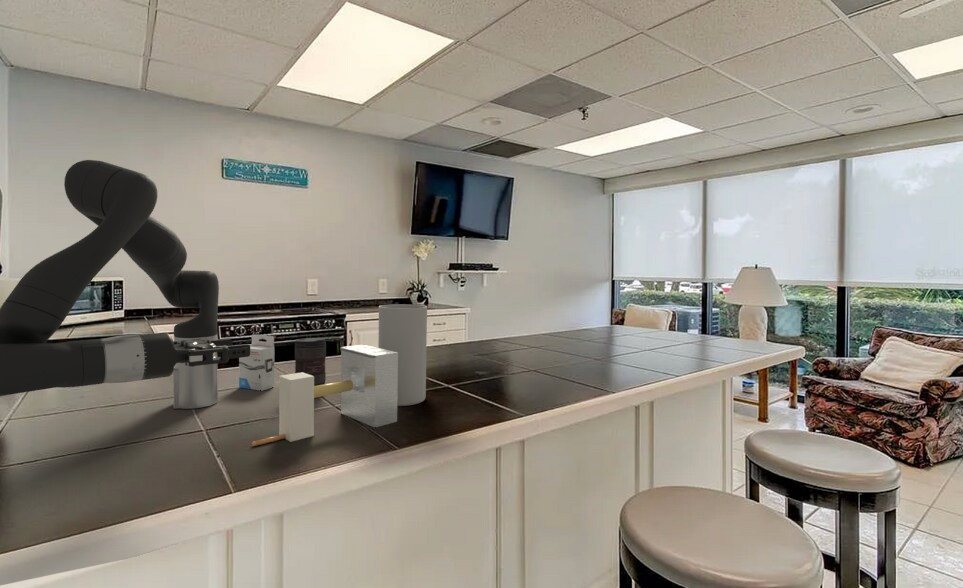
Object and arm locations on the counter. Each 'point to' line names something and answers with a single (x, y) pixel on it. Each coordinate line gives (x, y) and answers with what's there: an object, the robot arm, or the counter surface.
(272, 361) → the ink box
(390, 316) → the cylinder vase
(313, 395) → the plug
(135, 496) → the counter surface
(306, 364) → the dark lidded canister
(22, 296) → the robot arm
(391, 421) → the block
